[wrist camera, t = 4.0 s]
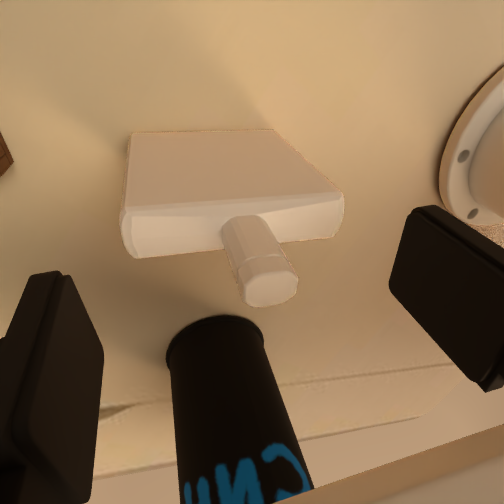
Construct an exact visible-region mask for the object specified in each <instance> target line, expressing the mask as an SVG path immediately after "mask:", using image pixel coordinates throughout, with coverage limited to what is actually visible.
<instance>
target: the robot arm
mask: <svg viewBox="0 0 504 504" xmlns="http://www.w3.org/2000/svg"><path fill="white" fill-rule="evenodd" d="M439 191H440V195H441V199H442V201H443V203H444V205H445V207H446V208H447V210H448V211H450V212H451V213H452V214H453V215H454V216H455V217H454V216H453V215H451V214H450V213H448V212H447V211H445V210H443V209H442V208H440V207H439V206H437V205H429V206H423V207H417V208H415V209H413V210H412V211H411V214H409V215H408V216H407V219H406V222H405V226H404V229H403V233H402V236H401V240H400V243H399V247H398V251H397V254H396V258H395V261H394V265H393V268H392V272H391V276H390V279H389V289H390V291H391V293H392V294H393V295H394V297H395V298H396V299H397V300H398V301H399V302H400V303H401V304H402V305H403V307H404V308H405V309H406V310H407V311H408V312H409V313H410V314H411V315H412V317H413V318H414V319H415V320H416V321H417V322H418V323H419V324H420V325H421V327H422V328H423V329H424V330H425V331H426V332H427V333H428V334H429V335H430V337H431V338H432V339H433V340H434V341H435V342H436V343H437V344H438V345H439V347H440V348H441V349H442V350H443V351H444V352H445V353H446V354H447V355H448V357H449V358H450V359H451V360H452V361H453V362H454V363H455V364H456V365H457V367H458V368H459V369H460V370H461V371H462V372H463V373H464V374H465V375H466V377H467V378H469V379H470V380H471V381H473V382H476V383H477V384H478V385H479V386H480V387H481V389H482V390H483V391H484V392H485V393H486V392H489V391H492V390H496V389H499V388H502V387H503V385H504V248H502V247H501V246H499V245H497V244H496V243H494V242H493V241H491V240H490V239H488V238H487V237H485V236H484V235H482V234H480V233H479V232H477V231H476V230H474V229H473V228H471V227H470V226H468V225H467V224H465V223H468V224H471V225H475V226H491V225H496V224H501V223H504V67H503V68H502V69H501V70H499V71H498V72H497V73H496V74H495V75H494V76H493V77H492V78H491V79H490V80H489V81H488V82H487V83H486V84H485V85H484V86H483V87H482V89H481V90H480V91H479V92H478V93H477V94H476V96H475V97H474V98H473V99H472V100H471V102H470V103H469V105H468V106H467V108H466V109H465V111H464V112H463V114H462V115H461V117H460V118H459V120H458V121H457V123H456V125H455V127H454V129H453V131H452V133H451V135H450V137H449V139H448V142H447V145H446V148H445V150H444V153H443V156H442V160H441V166H440V171H439ZM456 217H457V218H459V219H460V220H462V221H463V222H462V221H460V220H459V219H457V218H456ZM464 222H465V223H464ZM103 366H104V351H103V347H102V344H101V342H100V340H99V338H98V335H97V333H96V331H95V329H94V326H93V324H92V322H91V320H90V317H89V315H88V313H87V311H86V309H85V306H84V304H83V302H82V300H81V297H80V295H79V293H78V291H77V289H76V286H75V284H74V282H73V280H72V278H71V276H70V275H62V273H61V272H60V271H58V270H57V271H51V272H45V273H40V274H34V275H31V276H30V277H29V279H28V282H27V284H26V286H25V289H24V291H23V294H22V296H21V299H20V301H19V304H18V306H17V308H16V311H15V313H14V316H13V318H12V321H11V323H10V325H9V328H8V330H7V333H6V335H5V337H2V338H1V339H0V504H84V503H86V502H88V501H89V499H90V496H91V489H92V479H93V468H94V458H95V448H96V438H97V428H98V417H99V407H100V397H101V387H102V376H103ZM272 504H504V424H502V425H499V426H496V427H493V428H490V429H487V430H484V431H481V432H478V433H475V434H472V435H470V436H466V437H464V438H461V439H458V440H455V441H452V442H449V443H446V444H443V445H440V446H437V447H434V448H432V449H429V450H426V451H423V452H420V453H417V454H414V455H411V456H408V457H405V458H402V459H400V460H397V461H394V462H391V463H388V464H385V465H382V466H379V467H377V468H374V469H370V470H367V471H365V472H362V473H359V474H356V475H353V476H350V477H347V478H344V479H341V480H339V481H336V482H333V483H330V484H327V485H324V486H321V487H318V488H315V489H313V490H310V491H307V492H304V493H301V494H298V495H295V496H293V497H290V498H287V499H284V500H281V501H278V502H275V503H272Z"/></svg>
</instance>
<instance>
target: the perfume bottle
mask: <svg viewBox="0 0 504 504" xmlns="http://www.w3.org/2000/svg"><path fill="white" fill-rule="evenodd" d="M344 211H345V206H344V196H343V194H342V192H341V191H340V190H339V189H338V188H337V187H336V186H335V185H334V184H333V183H332V182H330V181H329V180H328V179H327V178H326V177H325V176H324V175H323V174H322V173H321V172H319V171H318V170H317V169H316V168H315V167H314V166H313V165H312V164H311V163H310V162H308V161H307V160H306V159H305V158H304V157H303V156H302V155H301V154H300V153H299V152H297V151H296V150H295V149H294V148H293V147H292V146H291V145H290V144H289V143H288V142H286V141H285V140H284V139H283V138H282V137H281V136H280V135H279V134H278V133H277V132H275V131H274V130H273V129H271V130H230V131H189V132H147V133H131V135H130V137H129V140H128V149H127V158H126V167H125V176H124V184H123V193H122V202H121V211H120V221H119V227H120V232H121V237H122V242H123V244H124V246H125V248H126V250H127V252H128V253H129V254H130V255H131V256H133V257H134V258H135V259H140V258H149V257H158V256H167V255H176V254H186V253H195V252H204V251H213V250H223V249H225V251H226V254H227V257H228V260H229V263H230V265H231V268H232V271H233V274H234V277H235V280H236V283H237V284H238V289H239V292H240V295H241V297H242V300H243V302H244V303H246V304H248V305H249V306H251V307H257V308H260V307H266V306H273V305H279V304H282V303H284V302H287V301H288V300H289V299H290V298H292V297H293V296H294V295H295V294H296V292H297V285H298V279H299V277H298V276H297V274H296V272H295V270H294V269H293V267H292V265H291V264H290V263H289V260H288V258H287V256H286V255H285V253H284V251H283V250H282V248H281V246H280V245H279V243H287V242H296V241H305V240H315V239H324V238H333V237H334V235H335V234H336V233H337V231H338V230H339V228H340V226H341V224H342V219H343V215H344Z"/></svg>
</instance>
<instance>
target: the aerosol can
mask: <svg viewBox="0 0 504 504" xmlns="http://www.w3.org/2000/svg"><path fill="white" fill-rule="evenodd" d="M166 363H167V367H168V368H169V370H170V376H171V389H172V402H173V415H174V428H175V441H176V454H177V467H178V480H179V492H180V504H272V503H275V502H278V501H281V500H284V499H287V498H290V497H293V496H295V495H298V494H301V493H304V492H307V491H310V490H313V489H315V488H314V485H313V483H312V480H311V477H310V474H309V472H308V469H307V466H306V463H305V461H304V458H303V455H302V452H301V449H300V447H299V444H298V441H297V438H296V435H295V433H294V430H293V427H292V424H291V422H290V419H289V416H288V413H287V411H286V408H285V405H284V402H283V399H282V397H281V394H280V391H279V388H278V386H277V383H276V380H275V377H274V374H273V372H272V369H271V366H270V363H269V361H268V358H267V355H266V352H265V349H264V339H263V335H262V333H261V331H260V329H259V328H258V327H257V326H256V325H255V324H254V323H252V322H250V321H249V320H247V319H244V318H240V317H235V316H217V317H212V318H207V319H204V320H201V321H198V322H196V323H194V324H192V325H190V326H188V327H187V328H185V329H184V330H182V331H181V332H180V333H179V334H178V335H177V336H176V337H175V338H174V339H173V340H172V342H171V343H170V345H169V347H168V350H167V353H166Z"/></svg>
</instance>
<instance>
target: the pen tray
mask: <svg viewBox="0 0 504 504" xmlns="http://www.w3.org/2000/svg"><path fill="white" fill-rule="evenodd" d="M13 162H14V161H13V159H12V157H11V154H10V152H9V150H8V148H7V146H6V143H5V141H4V139H3V137H2V135H1V133H0V177H1V176H2V175H3V174H4V173H5V172H6V170H7V169H8V168H9V167H10V165H12V164H13Z"/></svg>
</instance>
